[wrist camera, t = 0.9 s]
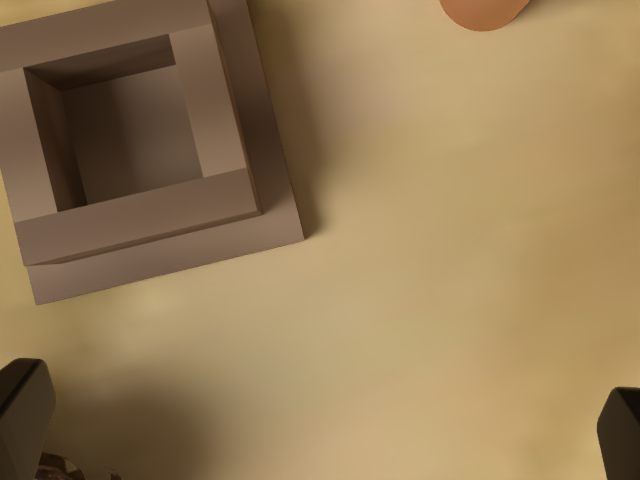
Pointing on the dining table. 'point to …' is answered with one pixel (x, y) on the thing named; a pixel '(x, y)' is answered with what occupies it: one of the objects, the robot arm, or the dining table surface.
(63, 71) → the socket block
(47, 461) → the pine cone
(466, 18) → the peg
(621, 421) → the robot arm
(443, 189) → the dining table surface
